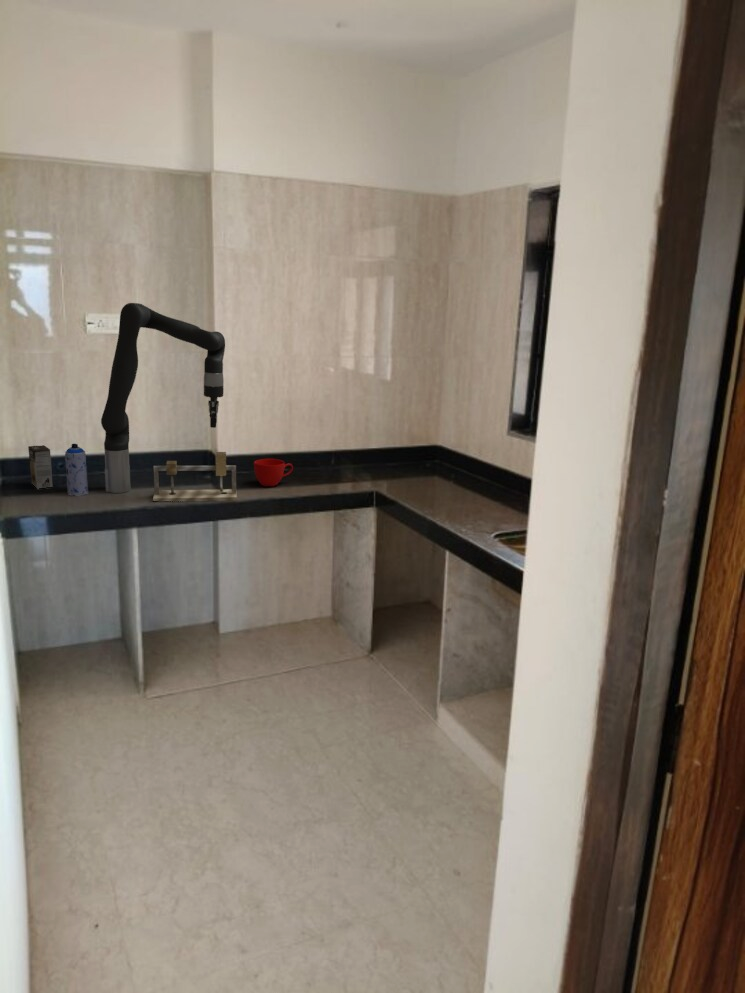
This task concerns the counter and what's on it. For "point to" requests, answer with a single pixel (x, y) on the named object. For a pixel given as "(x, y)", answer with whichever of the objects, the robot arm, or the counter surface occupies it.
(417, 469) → the counter surface
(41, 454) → the coffee box
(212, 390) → the robot arm
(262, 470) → the ceramic cup
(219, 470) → the trammel head
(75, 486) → the aerosol can
